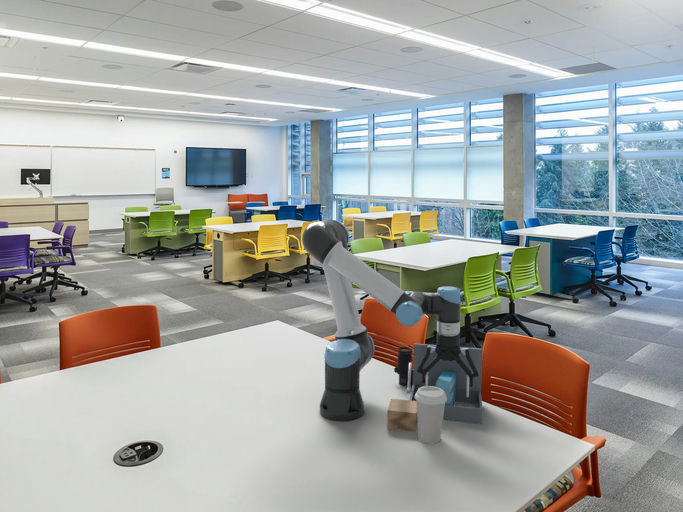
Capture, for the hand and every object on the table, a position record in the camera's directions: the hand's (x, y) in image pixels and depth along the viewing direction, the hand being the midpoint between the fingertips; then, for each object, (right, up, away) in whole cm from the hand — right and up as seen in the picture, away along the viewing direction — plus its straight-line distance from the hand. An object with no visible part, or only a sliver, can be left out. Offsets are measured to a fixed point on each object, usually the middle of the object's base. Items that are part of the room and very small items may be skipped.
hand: (447, 393), depth 171 cm
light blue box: (0, -6, +1) cm, 6 cm away
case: (0, -6, +1) cm, 6 cm away
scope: (-11, -3, +23) cm, 26 cm away
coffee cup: (-9, -9, -19) cm, 23 cm away
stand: (-16, -7, -9) cm, 20 cm away
